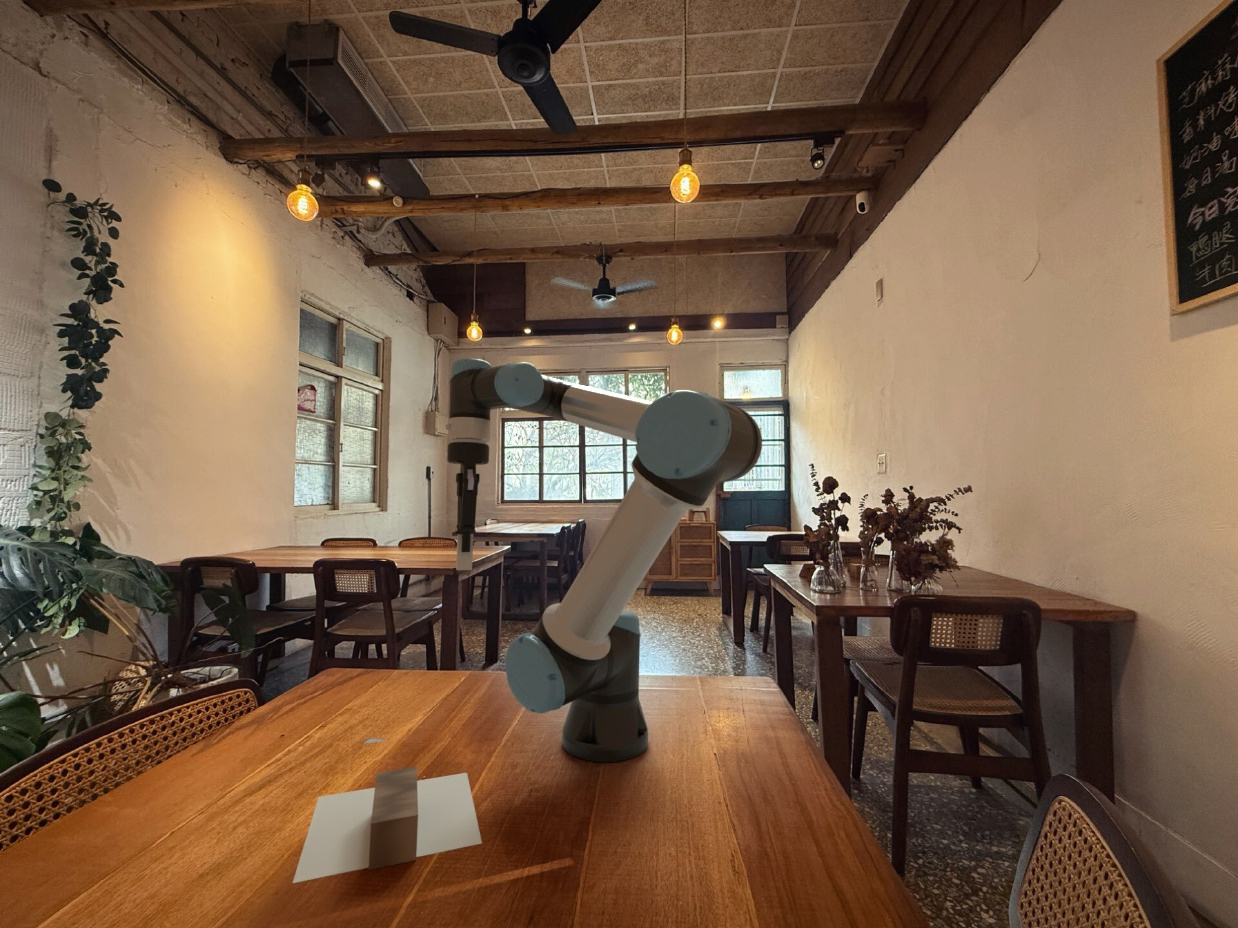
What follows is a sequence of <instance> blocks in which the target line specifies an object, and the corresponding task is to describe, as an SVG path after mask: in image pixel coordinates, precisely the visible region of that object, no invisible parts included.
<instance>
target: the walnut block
mask: <svg viewBox="0 0 1238 928" xmlns="http://www.w3.org/2000/svg"><path fill="white" fill-rule="evenodd" d="M417 781H418V768H417V766H413V767H412V766H411V767H406V768H405V767H404V768H400V769H399V768H398V769H393V770H388V771H387V770H386V771H380V772H376V777H375V786H374V788H375V792H374V801H373V809H372V818H371V830H370V851H369V868H368V871H373V870H376V869H381V868H386V867H390V866H395V865H400V864H404V863H409V862H414V861H416V860H417V857H416V852H417V829H418V794H417Z"/></svg>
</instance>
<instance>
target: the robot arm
mask: <svg viewBox="0 0 1238 928" xmlns="http://www.w3.org/2000/svg"><path fill="white" fill-rule="evenodd" d="M448 407H449V411H448V413H449V416H448V418H449V419H448V422H449V423H445V425H444V427H445V429H447V430H448V440H449V441H451V442H449V444H448V445H447V457H446V459H447V460H446V461H447V462H448V463H449V464H452V465H454V464H455V465H460V467H459V468H460V469H459V470H460V471H459V472H457V473H455V483H456V496H457V511H456V512H457V518H456V519H457V520H456V529H457V530H454V534H455V535H457V540H456V541H457V542H456V543H457V544H456V562H455V564H456V565H455V569H456V571H472V570H473V553H474V534H476V533H477V530H476V515H477V500H478V499H477V498H478V495H479V494H478V492H479V483H480V473H477V466H480V465H484V466H485V465H487V464H488V463H490V445H488V444H487V443H489V442H490V440H491V424H492V423H491V411H492V410H497V409H513V410H518V411H522V412H527V413H532V414H538V415H541V416H542V415H543V416H545V417H550V418H554V419H557V420H561V421H563V422H567V423H568V422H569V423H571V424H574V425H578V426H582V427H585V428H588V429H592V430H594V431H598V432H601V433H604V434H607V435H611V436H614V437H618V438H622V439H625V440H628V441H631V442H635V443H636V444H635V451H636V454H635V456H634V458H633V460H632V462H631V463H630V465H631V469H632V472H633V476H634V478H633V481H632V483H631V484H630V486H629V488H628V489H627V491H626V493H625V495H624V496H623V497H622V500H621V501H620V503H619V505H618V506H617V507H616V510H615V512H614V513H613V515H612V517H611V518H610V520H609V521H608V524H606V526H605V528H604V530H603V531H602V532H601V533H602V534H601V535H600V537H598V540H597V542H596V543H595V546H593V549H592V550H591V552H590V554H589V555H588V557H587V558H586V560H585V562H584V564H583V565H582V568H581V569H580V571H579V572H578V573H577V575H576V577H575V579H574V581H573V583H572V584H571V586H570V588H569V589H568V590H567V592H566V594H565V595H564V597H563V599H562V601H561V602H558V603H553V604H551V605H549V606H548V607H547V608H546V609H545V610H544V612H543V614H542V615H541V616H540V619H539V620H538V622H537V624H536V625H535V627H534V628H533V630H532V631H531V632H529V633H527V632H526V633H521V634H520V635H519V636H518V637H517V636H516V637H515V638H514V639H513V640H512V641H511V642H510V644H509V645H508V646H507V650H506V652H505V658H504V671H505V674H506V681H507V684H508V687H509V689H510V692H511V693H512V695H513V697H514V698H515V699H516V701H517V702H518V704H519V705H521V706H522V707H523V708H524V709H526V710H527V711H528V712H531V713H534V714H535V713H536V714H546V713H549V712H551V711H556V710H557V711H558V710H559V709H561V708H562V707H563V706H566V705H568V704H570V705H569V709H568V712H567V715H566V717H565V721H564V723H563V727H562V731H561V733H562V735H561V737H562V738H561V744H562V747H563V749H564V751H566V752H567V753H568V754H570V755H571V756H573V757H576V758H577V759H581V760H584V761H589V762H597V763H614V762H622V761H627V760H630V759H633V758H635V757H638V756H640V755H641V754H642V753H644V752H645V751H646V749H647V748H648V746H649V728H648V725H647V722H646V718H645V714H644V711H643V707H642V705H641V701H640V693H639V692H640V690H639V689H640V649H641V648H640V646H641V643H640V642H641V635H642V634H641V630H640V619H639V617H638V616H637V614H636V613H634V612H631V611H627V610H625V608H626V607H627V605H628V603H629V602H630V600H631V598H632V597H633V596H634V594H635V592H636V591H637V589H638V588H639V586H640V584H641V583H642V581H643V580H644V579H645V577H646V575H647V573H648V572H649V570H650V569H651V568H652V566H653V564H654V563H655V561H656V560H657V558H658V556H659V555H660V553H661V552H662V550H663V548H664V547H665V546H666V544H667V542H668V541H669V539H670V537H671V535H672V534H673V533H674V531H675V530H676V528H677V526H678V525H679V523H680V522H681V520H682V519H683V518H684V515H685V514H686V512H687V511H689V510H695V509H700V508H702V507H703V506H704V505H705V503H706V502H707V500H708V498H709V497H710V495H711V494H712V492H713V491H714V489H715V487H716V486H717V485H718V483H726V482H727V483H729V482H732V481H736V480H738V479H741V478H742V477H744V476H745V475H747V474H748V473H749V472H750V471H751V470H752V469H753V468H754V467H755V466H756V464H757V463H758V461H759V459H760V457H761V454H762V449H763V437H762V432H761V430H760V428H759V425H758V423H757V422H756V420H755V419H754V418H753V417H752V416H751V415H750V413H748V412H747V411H746V410H744V409H742V408H741V407H739V406H735V405H732V404H730V403H727V402H726V401H723V400H721V399H719V398H716V397H715V396H712V395H710V394H708V393H707V392H702V391H694V390H689V389H685V390H684V389H681V390H680V389H679V390H674V391H670V392H667V393H665V394H663V395H660V396H659V397H657V398H656V399H654V400H653V401H650V400H646V399H642V398H637V397H635V396H634V397H633V396H630V395H629V396H628V395H625V394H621V393H616V392H612V391H609V390H603V389H600V388H595V387H592V386H586V385H582V384H577V383H575V382H570V381H566V380H562V379H559V378H555V377H552V376H548V375H544V374H542V373H541V371H540V370H539V369H537V367H536V365H534V364H532V363H530V362H525V361H522V362H517V361H516V362H514V361H513V362H509V363H506V364H503V365H498V366H494V367H493V366H492V364H490V363H489V362H488V361H486V360H483V359H479V358H460V359H457V360H454V362H453V363H452V365H451V374H450V379H449V406H448ZM644 750H645V751H644Z"/></svg>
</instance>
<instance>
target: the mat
mask: <svg viewBox="0 0 1238 928" xmlns="http://www.w3.org/2000/svg"><path fill="white" fill-rule="evenodd" d="M374 792H375V787H370V788H365V789H364V788H363V789H359V790H352V791H345V792H339V793H334V794H328V795H323V796H318V797H317V800H316V805H315V807H314V811H313V814H312V817H311V821H310V823H309V824H310V825H309V828H308V831H307V835H306V836H305V837H306V838H305V840H304V843H303V847H302V850H301V855H300V857H299V860H298V864H297V867H296V870H295V874H294V876H293V880H292V884H297V883H298V884H299V883H302V882H307V881H312V880H317V879H321V878H327V877H331V876H336V875H341V874H344V873H349V872H354V871H359V870H364V869H369V851H370V830H371V818H372V809H373V801H374ZM417 794H418V829H417V852H416V858H420V857H424V856H431V855H434V854H435V855H436V854H440V853H445V852H449V851H453V850H458V849H463V848H467V847H471V846H477V845H482V844H483V842H482V837H481V833H480V828H479V822H478V818H477V814H476V809H475V804H474V799H473V796H472V795H473V794H472V791H471V786H470V781H469V776H468V772H463V773H458V774H451V775H445V776H444V775H443V776H438V777H432V778H425V779H420V780H417Z"/></svg>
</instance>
